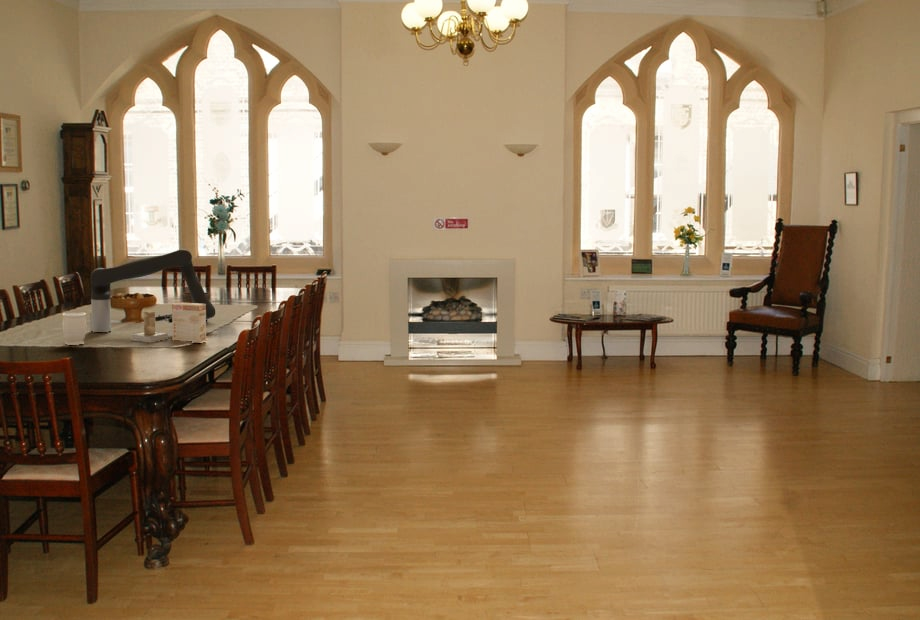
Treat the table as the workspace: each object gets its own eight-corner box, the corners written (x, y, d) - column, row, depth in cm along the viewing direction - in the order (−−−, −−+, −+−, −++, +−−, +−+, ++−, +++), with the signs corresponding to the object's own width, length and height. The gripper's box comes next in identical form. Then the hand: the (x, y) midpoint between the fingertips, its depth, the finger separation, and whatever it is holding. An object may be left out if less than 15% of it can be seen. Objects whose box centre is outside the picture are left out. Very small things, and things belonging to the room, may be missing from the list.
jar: (78, 341, 432) (78, 311, 430) (91, 344, 427) (90, 313, 425) (58, 344, 424) (57, 313, 422) (70, 347, 418) (70, 315, 416)
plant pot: (181, 319, 516) (181, 291, 514) (210, 319, 521) (210, 291, 519) (181, 323, 500) (181, 295, 498) (211, 323, 505) (211, 295, 503)
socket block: (131, 342, 436) (131, 334, 435) (149, 339, 446) (149, 331, 446) (150, 344, 431) (150, 336, 430) (167, 341, 442) (167, 333, 441)
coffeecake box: (206, 342, 443) (206, 303, 440) (198, 344, 436) (198, 305, 433) (180, 340, 447) (179, 301, 444) (171, 342, 440) (171, 303, 437)
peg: (144, 340, 438) (144, 311, 436) (149, 339, 441) (149, 311, 439) (149, 340, 436) (149, 312, 434) (155, 339, 439) (154, 311, 438)
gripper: (173, 307, 462) (151, 311, 448) (195, 310, 457) (173, 313, 442) (173, 322, 463) (151, 325, 449) (195, 324, 458) (173, 328, 443)
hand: (162, 319), depth 445 cm, fingers open, 8 cm apart
